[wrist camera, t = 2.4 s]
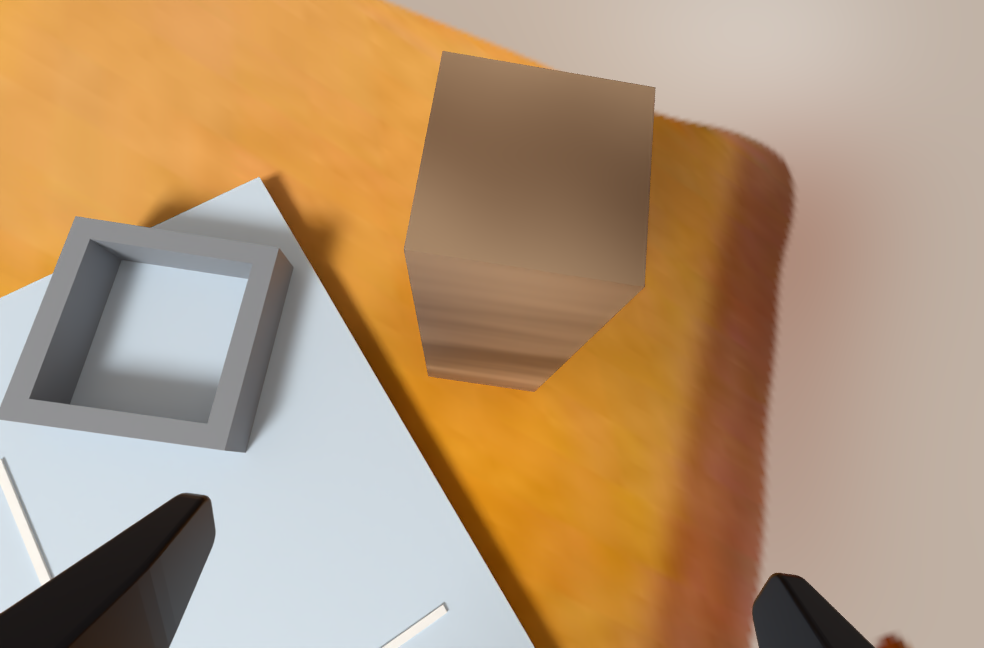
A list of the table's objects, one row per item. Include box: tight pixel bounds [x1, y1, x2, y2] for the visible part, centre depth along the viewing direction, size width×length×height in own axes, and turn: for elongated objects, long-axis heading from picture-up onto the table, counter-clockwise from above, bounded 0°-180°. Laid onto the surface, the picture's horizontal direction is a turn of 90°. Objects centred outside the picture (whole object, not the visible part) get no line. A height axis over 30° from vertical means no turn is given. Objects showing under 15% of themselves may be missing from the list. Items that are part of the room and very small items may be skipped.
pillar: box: [404, 51, 655, 392], centre depth 17 cm, size 4×4×13 cm
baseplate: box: [0, 177, 535, 648], centre depth 19 cm, size 24×16×3 cm, turn 32°
